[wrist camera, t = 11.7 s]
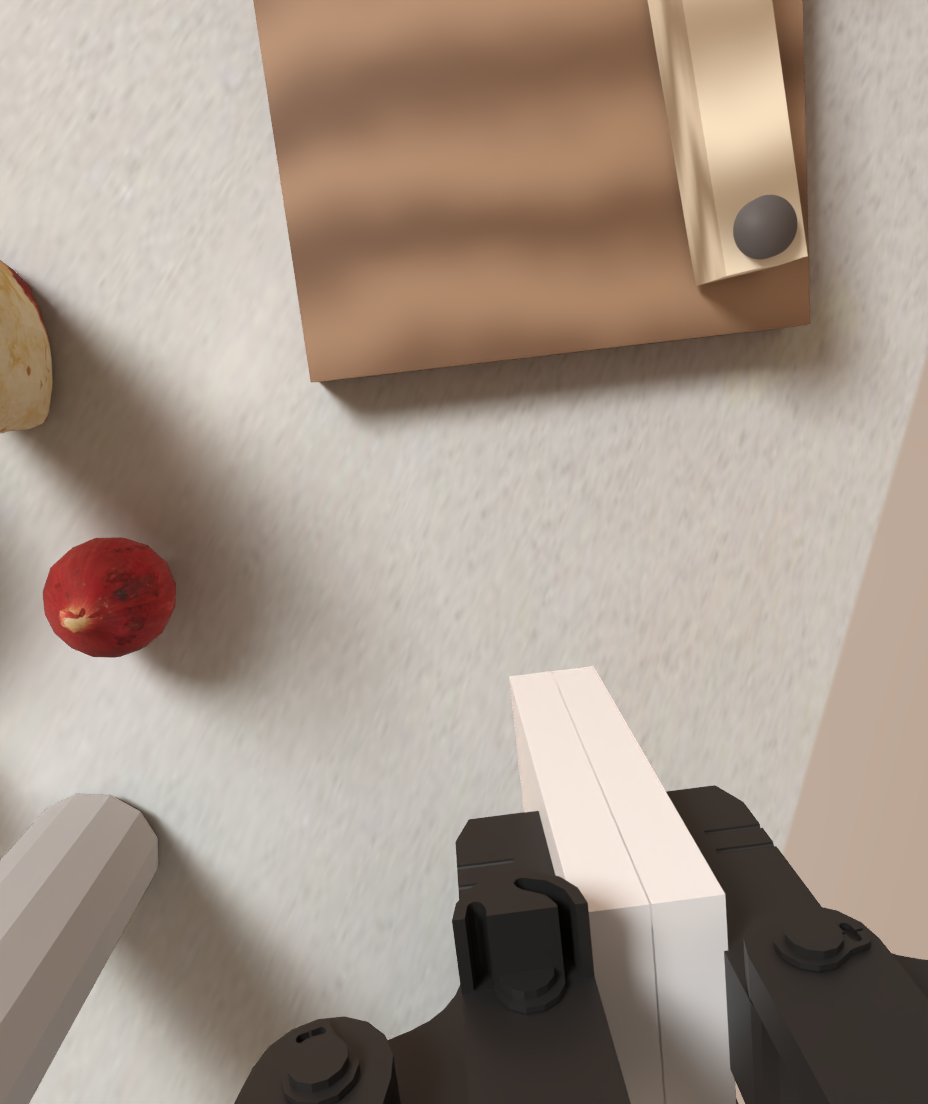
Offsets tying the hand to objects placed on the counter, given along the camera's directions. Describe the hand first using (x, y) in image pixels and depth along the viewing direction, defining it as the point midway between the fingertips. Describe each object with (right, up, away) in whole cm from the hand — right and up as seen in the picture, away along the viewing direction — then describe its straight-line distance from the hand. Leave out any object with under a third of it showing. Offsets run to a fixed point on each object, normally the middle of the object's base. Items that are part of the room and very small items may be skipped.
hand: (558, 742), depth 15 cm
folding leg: (+9, +25, +22) cm, 34 cm away
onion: (-19, +2, +29) cm, 35 cm away
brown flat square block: (+1, +25, +25) cm, 35 cm away
